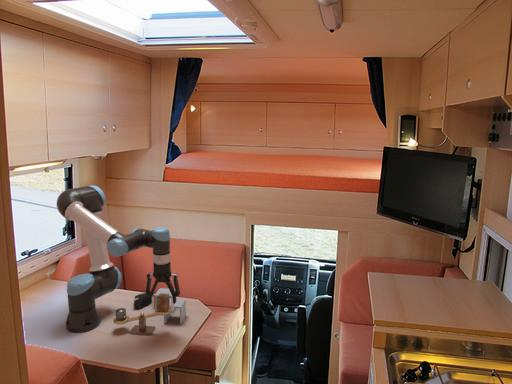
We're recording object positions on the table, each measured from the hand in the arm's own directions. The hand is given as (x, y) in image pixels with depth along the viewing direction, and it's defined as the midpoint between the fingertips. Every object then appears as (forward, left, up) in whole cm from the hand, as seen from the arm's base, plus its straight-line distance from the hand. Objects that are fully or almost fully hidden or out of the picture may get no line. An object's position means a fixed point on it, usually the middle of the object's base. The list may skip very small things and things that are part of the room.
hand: (163, 309), depth 184 cm
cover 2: (+2, +12, -12) cm, 17 cm away
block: (0, 0, 0) cm, 0 cm away
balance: (-10, 0, -11) cm, 15 cm away
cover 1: (-6, +23, -12) cm, 26 cm away
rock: (-19, +26, -12) cm, 34 cm away
